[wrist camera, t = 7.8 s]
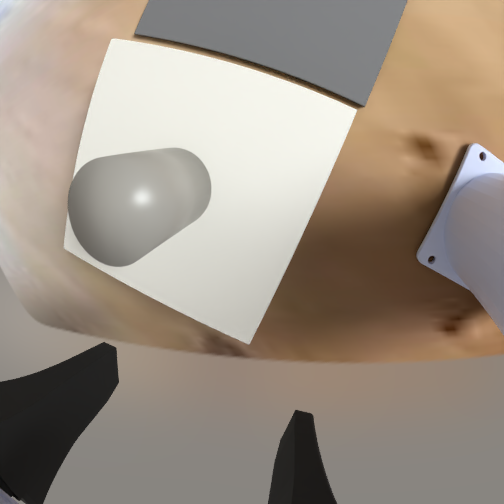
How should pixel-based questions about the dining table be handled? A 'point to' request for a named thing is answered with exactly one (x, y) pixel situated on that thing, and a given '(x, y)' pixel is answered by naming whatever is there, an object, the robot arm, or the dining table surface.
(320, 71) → the mat
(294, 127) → the lid
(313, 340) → the dining table surface
